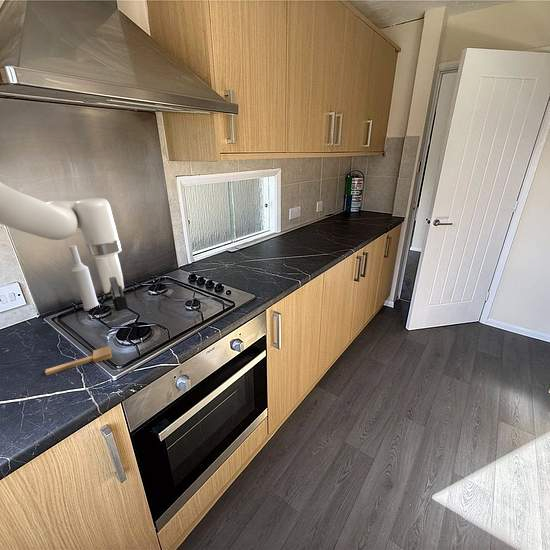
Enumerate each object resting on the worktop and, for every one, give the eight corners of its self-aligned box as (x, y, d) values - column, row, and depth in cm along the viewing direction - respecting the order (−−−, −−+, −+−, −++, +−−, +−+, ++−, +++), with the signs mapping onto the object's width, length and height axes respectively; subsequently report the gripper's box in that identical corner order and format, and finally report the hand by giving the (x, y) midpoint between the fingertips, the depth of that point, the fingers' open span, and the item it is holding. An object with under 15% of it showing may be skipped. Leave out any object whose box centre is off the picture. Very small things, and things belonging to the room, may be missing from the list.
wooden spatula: (45, 378, 77) (43, 374, 77) (47, 369, 81) (45, 364, 80) (111, 358, 84) (110, 353, 84) (111, 349, 88) (109, 345, 87)
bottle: (100, 309, 111) (81, 246, 101) (84, 313, 108) (63, 249, 98) (99, 304, 115) (80, 242, 105) (84, 308, 112) (63, 245, 102)
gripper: (87, 243, 80) (105, 301, 88) (87, 258, 68) (108, 325, 76) (118, 238, 84) (132, 295, 91) (122, 252, 72) (139, 316, 79)
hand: (121, 308), depth 83 cm, fingers closed
